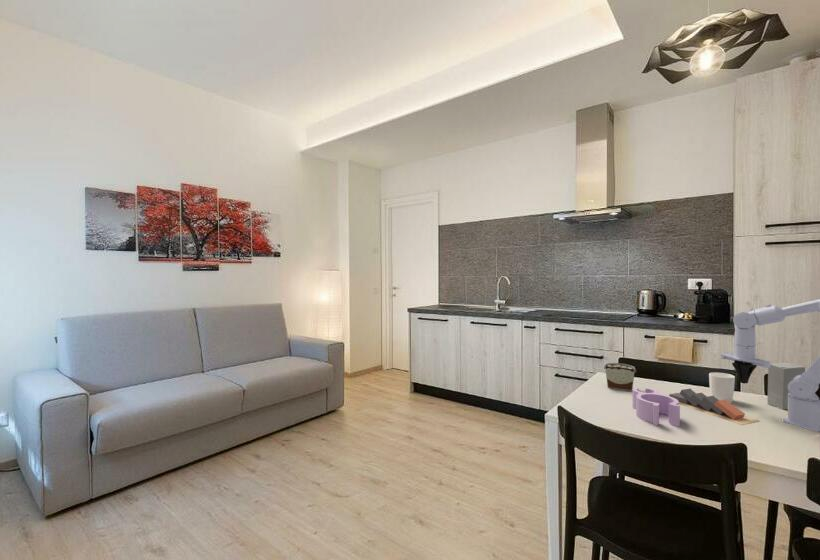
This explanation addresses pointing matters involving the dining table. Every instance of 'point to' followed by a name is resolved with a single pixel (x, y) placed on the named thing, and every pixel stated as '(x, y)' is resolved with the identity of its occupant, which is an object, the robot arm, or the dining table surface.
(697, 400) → the domino
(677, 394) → the domino
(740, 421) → the cork strip
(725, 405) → the rust domino
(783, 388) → the skincare box
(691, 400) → the domino
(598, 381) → the dining table surface
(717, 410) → the domino
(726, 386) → the white cup
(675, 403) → the clip
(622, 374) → the food container
